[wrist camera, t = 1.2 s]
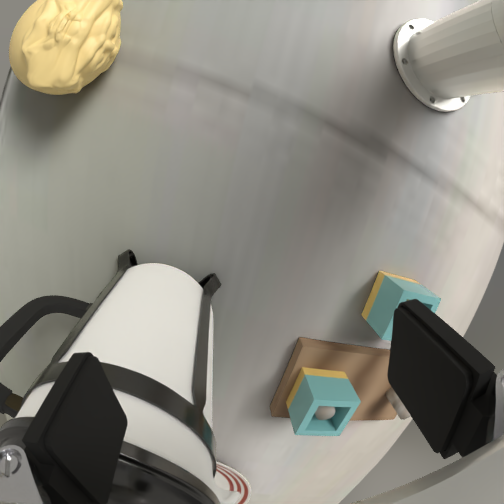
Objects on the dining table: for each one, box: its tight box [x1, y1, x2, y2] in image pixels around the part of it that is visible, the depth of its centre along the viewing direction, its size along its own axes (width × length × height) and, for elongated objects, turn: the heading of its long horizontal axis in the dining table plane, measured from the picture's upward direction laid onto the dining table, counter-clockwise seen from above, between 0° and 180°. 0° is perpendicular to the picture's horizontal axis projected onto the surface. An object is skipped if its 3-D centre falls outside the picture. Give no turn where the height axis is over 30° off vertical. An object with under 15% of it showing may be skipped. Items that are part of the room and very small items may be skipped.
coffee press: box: [0, 249, 241, 504], centre depth 20 cm, size 17×16×30 cm
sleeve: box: [361, 271, 441, 341], centre depth 34 cm, size 6×6×6 cm
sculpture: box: [9, 0, 123, 95], centre depth 20 cm, size 11×12×11 cm
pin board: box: [270, 337, 411, 420], centre depth 37 cm, size 21×12×7 cm, turn 74°
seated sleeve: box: [286, 367, 361, 436], centre depth 34 cm, size 6×6×6 cm
